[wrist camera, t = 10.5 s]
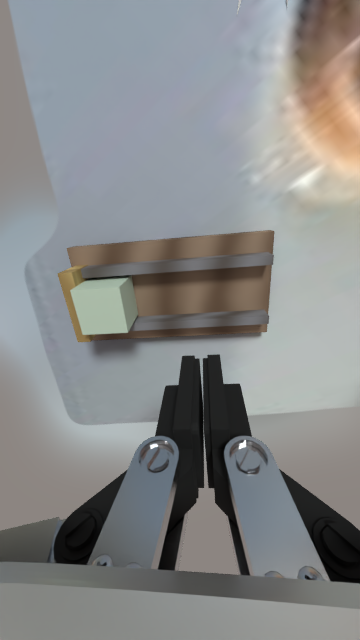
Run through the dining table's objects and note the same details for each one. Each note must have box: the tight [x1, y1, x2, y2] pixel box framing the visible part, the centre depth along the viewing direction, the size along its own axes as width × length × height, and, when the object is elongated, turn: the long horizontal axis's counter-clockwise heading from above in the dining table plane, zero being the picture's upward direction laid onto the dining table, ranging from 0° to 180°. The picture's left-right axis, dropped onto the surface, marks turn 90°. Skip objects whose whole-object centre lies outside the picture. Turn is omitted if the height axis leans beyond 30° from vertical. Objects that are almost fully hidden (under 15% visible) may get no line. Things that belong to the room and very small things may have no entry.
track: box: [58, 230, 274, 342], centre depth 27 cm, size 23×12×6 cm, turn 95°
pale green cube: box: [70, 275, 138, 335], centre depth 26 cm, size 5×5×5 cm
